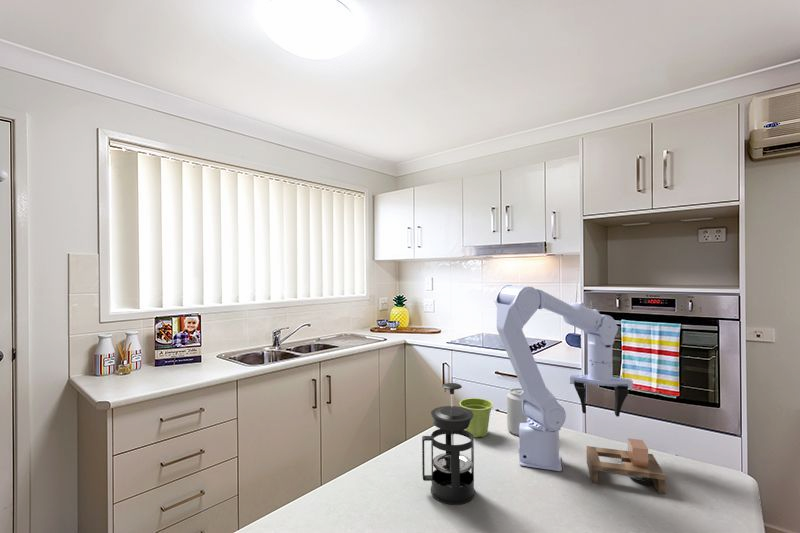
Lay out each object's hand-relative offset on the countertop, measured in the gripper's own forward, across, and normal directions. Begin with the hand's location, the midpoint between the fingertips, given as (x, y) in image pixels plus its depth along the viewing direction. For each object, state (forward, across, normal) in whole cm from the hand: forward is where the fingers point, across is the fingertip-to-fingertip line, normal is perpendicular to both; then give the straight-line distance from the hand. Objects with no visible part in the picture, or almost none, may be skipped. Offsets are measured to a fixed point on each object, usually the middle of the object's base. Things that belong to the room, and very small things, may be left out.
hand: (600, 413), depth 104 cm
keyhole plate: (+10, -3, +12) cm, 16 cm away
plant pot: (+10, +32, -2) cm, 34 cm away
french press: (+10, +33, +30) cm, 46 cm away
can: (+10, +20, -7) cm, 23 cm away
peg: (+9, -6, +12) cm, 16 cm away
